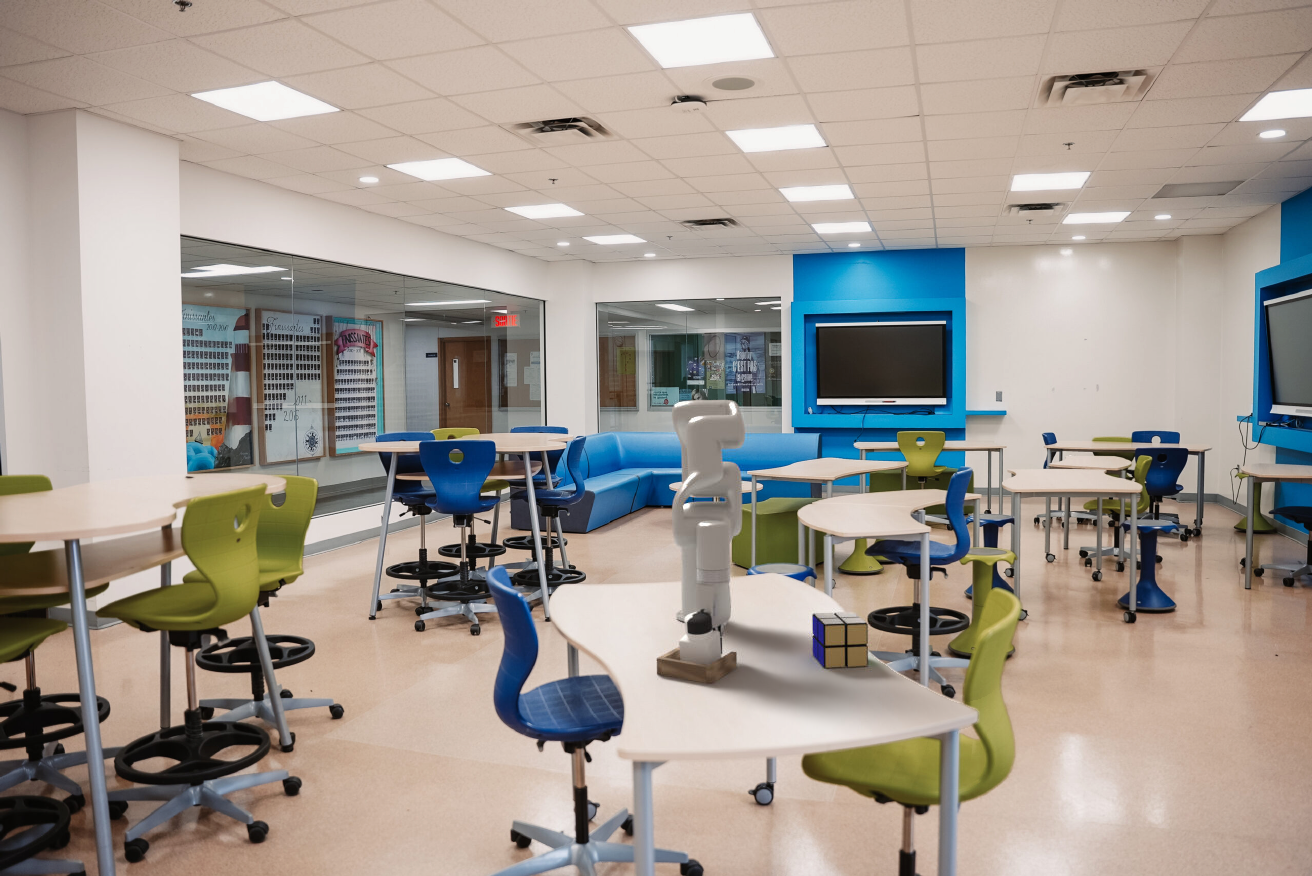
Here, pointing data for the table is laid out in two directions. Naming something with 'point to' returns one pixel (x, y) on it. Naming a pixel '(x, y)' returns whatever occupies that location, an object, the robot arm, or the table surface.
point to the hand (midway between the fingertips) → (714, 654)
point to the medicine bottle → (700, 640)
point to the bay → (695, 667)
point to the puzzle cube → (840, 640)
